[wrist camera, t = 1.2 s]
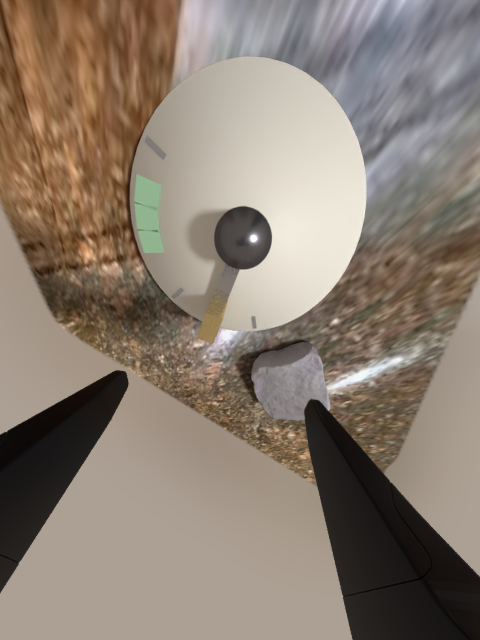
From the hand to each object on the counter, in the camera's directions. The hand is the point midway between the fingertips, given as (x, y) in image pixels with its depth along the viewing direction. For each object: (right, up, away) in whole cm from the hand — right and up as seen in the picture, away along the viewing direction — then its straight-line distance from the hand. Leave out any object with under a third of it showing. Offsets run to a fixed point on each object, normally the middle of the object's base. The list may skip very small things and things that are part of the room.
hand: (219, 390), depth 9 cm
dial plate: (+2, +12, +9) cm, 15 cm away
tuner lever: (0, +8, +9) cm, 12 cm away
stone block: (+8, -5, +18) cm, 20 cm away
